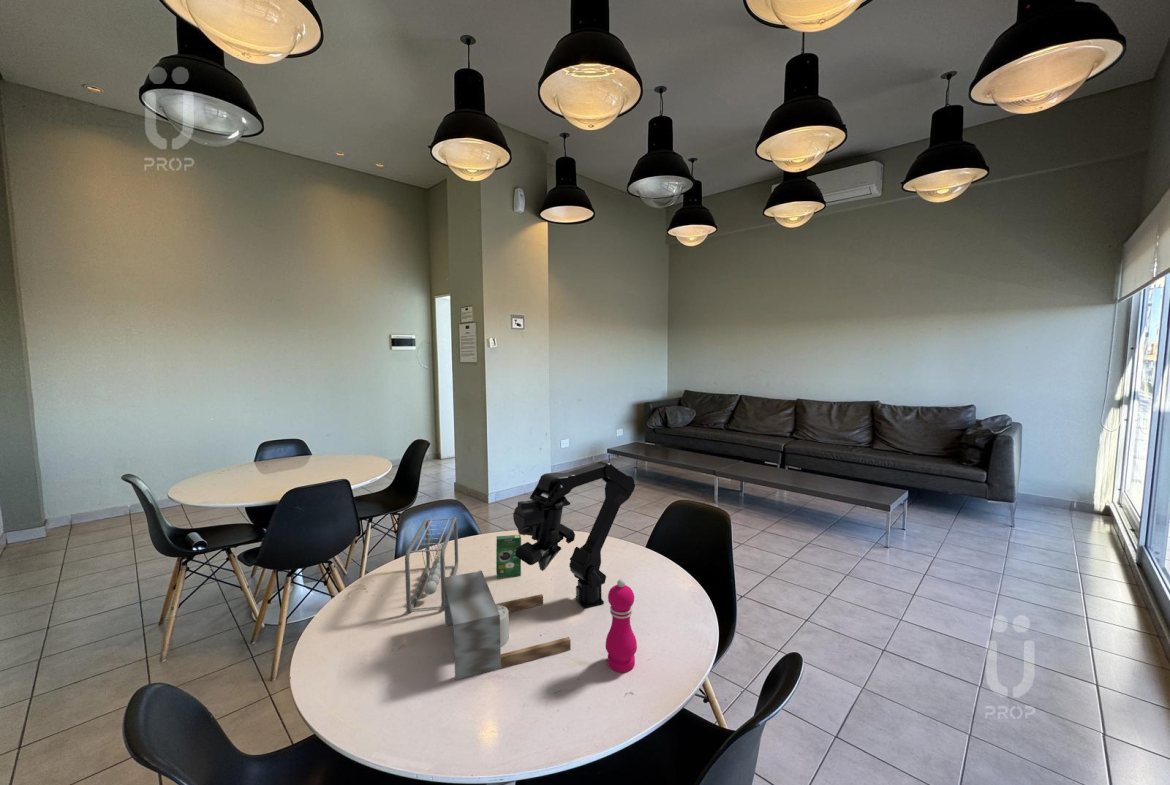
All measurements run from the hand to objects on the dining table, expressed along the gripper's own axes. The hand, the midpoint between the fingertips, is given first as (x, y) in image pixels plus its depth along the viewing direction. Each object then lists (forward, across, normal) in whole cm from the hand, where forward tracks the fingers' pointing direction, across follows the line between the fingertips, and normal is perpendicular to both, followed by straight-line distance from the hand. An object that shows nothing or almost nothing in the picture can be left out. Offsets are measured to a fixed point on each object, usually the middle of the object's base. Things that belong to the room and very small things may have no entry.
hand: (542, 569), depth 127 cm
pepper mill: (+4, +7, +32) cm, 33 cm away
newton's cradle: (+20, +11, -32) cm, 39 cm away
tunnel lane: (+11, +15, +3) cm, 19 cm away
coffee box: (+17, -8, -19) cm, 27 cm away
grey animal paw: (+11, +20, 0) cm, 23 cm away
